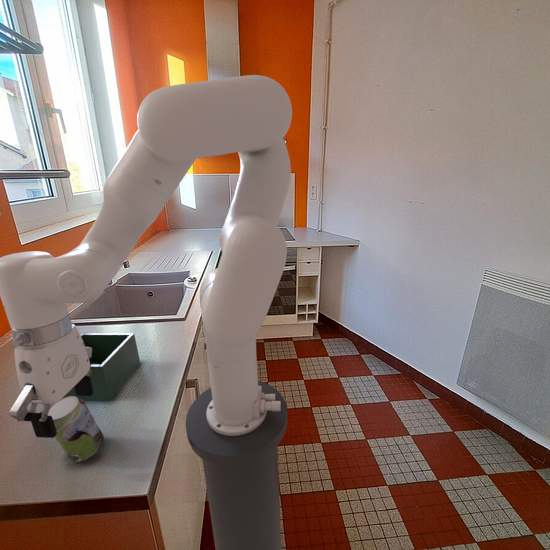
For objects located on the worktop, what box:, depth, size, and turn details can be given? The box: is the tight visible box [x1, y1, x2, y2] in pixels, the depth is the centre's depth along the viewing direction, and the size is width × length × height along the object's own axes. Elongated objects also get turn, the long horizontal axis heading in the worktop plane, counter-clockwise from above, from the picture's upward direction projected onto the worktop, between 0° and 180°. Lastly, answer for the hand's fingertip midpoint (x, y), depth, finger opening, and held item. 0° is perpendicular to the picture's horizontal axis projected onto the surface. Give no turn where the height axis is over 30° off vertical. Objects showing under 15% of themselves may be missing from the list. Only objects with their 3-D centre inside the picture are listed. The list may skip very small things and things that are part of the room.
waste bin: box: [62, 332, 141, 402], centre depth 76 cm, size 15×15×10 cm
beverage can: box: [48, 396, 105, 463], centre depth 55 cm, size 6×7×12 cm
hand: (67, 413), depth 54 cm, fingers open, 9 cm apart
